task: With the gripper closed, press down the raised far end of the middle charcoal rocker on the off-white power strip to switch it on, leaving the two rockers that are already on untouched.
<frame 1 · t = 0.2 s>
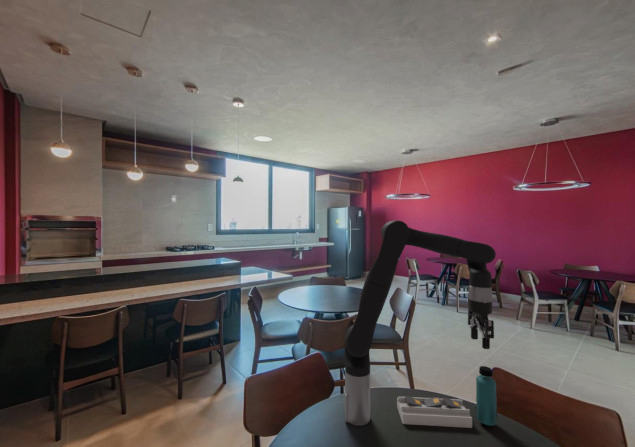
hand: (479, 343, 103), 29 cm above the table, tool pointing down, fingers open, 8 cm apart
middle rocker: (432, 402, 106), point 5 cm above the table, hinge at -15.0°
right rocker: (451, 403, 106), point 5 cm above the table, hinge at 15.0°
left rocker: (413, 401, 107), point 5 cm above the table, hinge at 15.0°
power strip: (432, 416, 106), on the table
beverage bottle: (486, 424, 102), on the table
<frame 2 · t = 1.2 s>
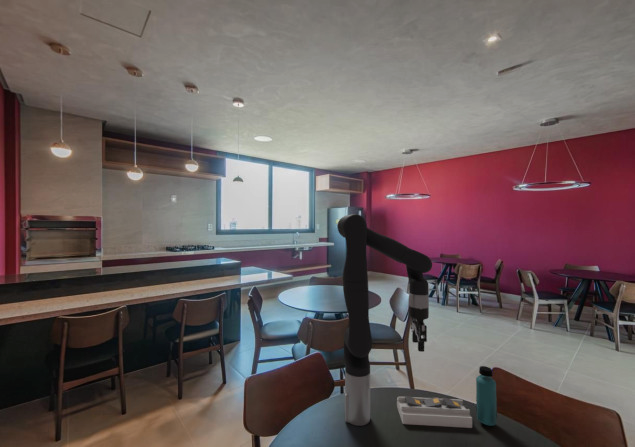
hand: (418, 346, 112), 24 cm above the table, tool pointing down, fingers open, 8 cm apart
nothing on the table moved.
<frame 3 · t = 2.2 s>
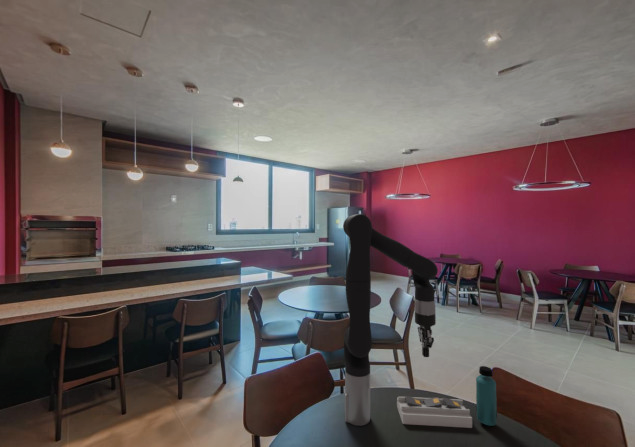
hand: (425, 356, 110), 21 cm above the table, tool pointing down, fingers closed
nothing on the table moved.
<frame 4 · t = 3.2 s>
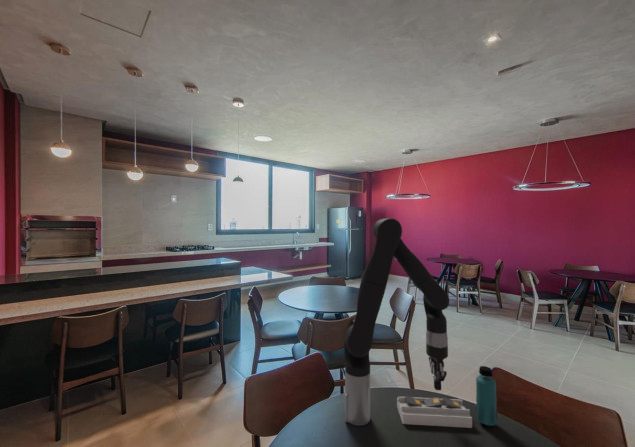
hand: (437, 389, 106), 10 cm above the table, tool pointing down, fingers closed
nothing on the table moved.
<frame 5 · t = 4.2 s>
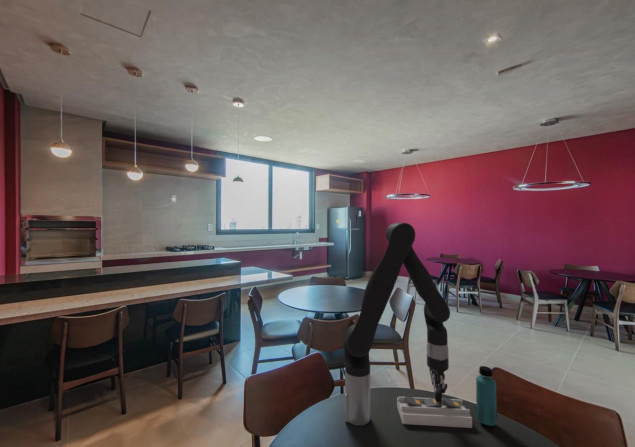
hand: (438, 401, 106), 6 cm above the table, tool pointing down, fingers closed
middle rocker: (432, 402, 106), point 5 cm above the table, hinge at -14.4°, touching gripper
everything else where it was.
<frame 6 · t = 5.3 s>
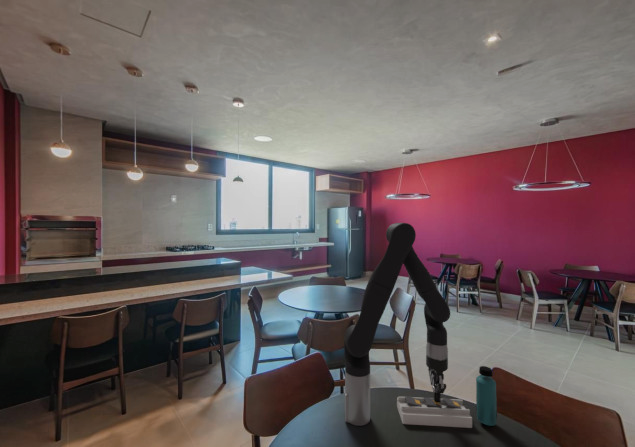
hand: (436, 401, 106), 6 cm above the table, tool pointing down, fingers closed
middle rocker: (432, 402, 106), point 5 cm above the table, hinge at 7.1°
everything else where it was.
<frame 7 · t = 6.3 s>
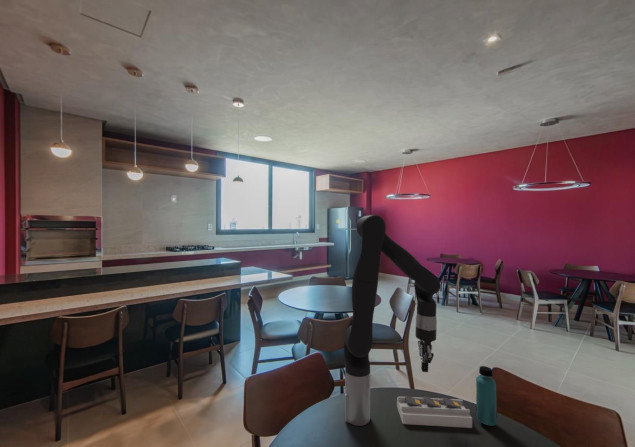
hand: (424, 371, 109), 15 cm above the table, tool pointing down, fingers closed
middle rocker: (432, 402, 106), point 5 cm above the table, hinge at 18.5°
everything else where it was.
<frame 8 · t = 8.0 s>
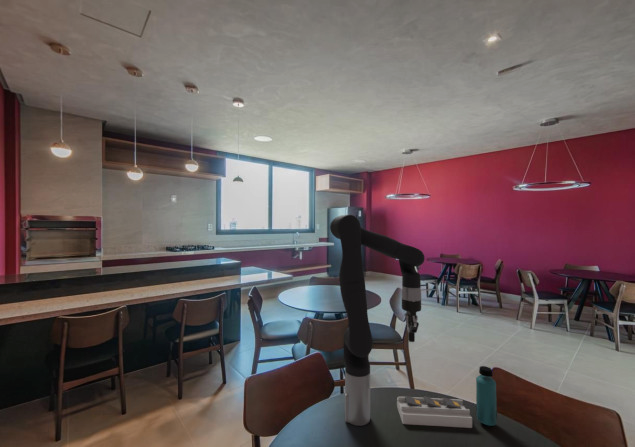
hand: (411, 341, 114), 25 cm above the table, tool pointing down, fingers closed
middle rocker: (432, 402, 106), point 5 cm above the table, hinge at 20.3°
everything else where it was.
at the end: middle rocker at +20° (first picture: -15°); left rocker at +15° (first picture: +15°); right rocker at +15° (first picture: +15°) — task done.
